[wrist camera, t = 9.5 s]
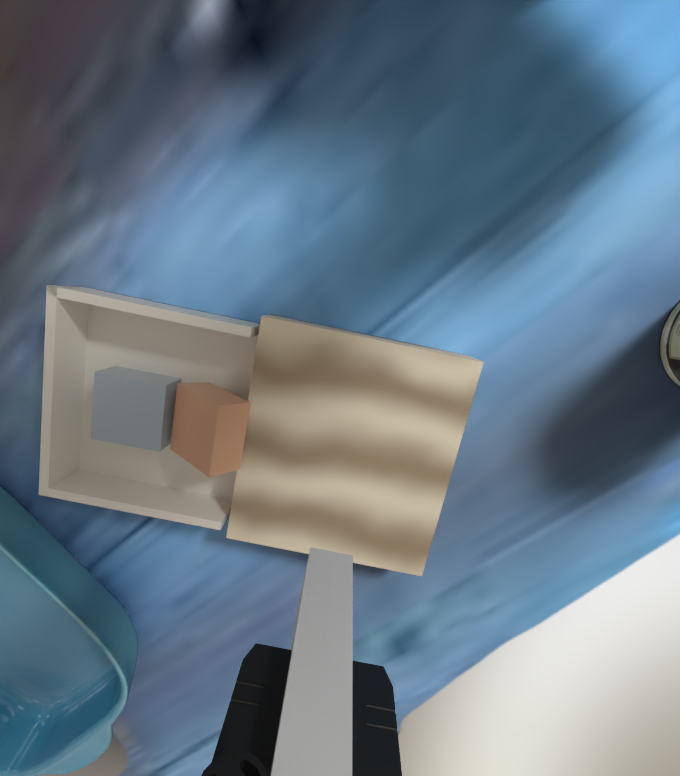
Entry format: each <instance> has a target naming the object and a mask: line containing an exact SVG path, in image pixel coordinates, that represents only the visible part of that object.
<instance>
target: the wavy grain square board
mask: <svg viewBox="0 0 680 776" xmlns="http://www.w3.org/2000/svg"><path fill="white" fill-rule="evenodd" d="M483 363H484V362H482V361H480V360H478V359H475V358H473V357H470V356H468V355H463V354H458V353H453V352H449V351H444V350H439V349H434V348H430V347H425V346H420V345H415V344H410V343H406V342H401V341H396V340H391V339H386V338H382V337H377V336H372V335H367V334H362V333H358V332H353V331H348V330H343V329H339V328H334V327H329V326H324V325H319V324H315V323H310V322H305V321H300V320H295V319H291V318H286V317H281V316H276V315H272V314H271V315H263V316H261V321H260V327H259V334H258V340H257V346H256V353H255V359H254V365H253V372H252V378H251V384H250V391H249V397H248V401H249V402H251V403H250V409H249V416H248V422H247V428H246V435H245V441H244V447H243V454H242V460H241V466H240V469H239V470H237V473H236V479H235V485H234V491H233V498H232V504H231V510H230V517H229V523H228V529H227V536H226V538H228V539H234V540H239V541H244V542H249V543H254V544H259V545H264V546H269V547H275V548H280V549H285V550H290V551H295V552H300V553H305V554H309V552H310V547H312V548H317V549H323V550H328V551H333V552H338V553H343V554H348V555H353V563H357V564H362V565H367V566H372V567H377V568H382V569H387V570H393V571H398V572H403V573H408V574H413V575H418V576H422V574H423V571H424V567H425V564H426V560H427V557H428V553H429V550H430V546H431V543H432V539H433V536H434V532H435V529H436V525H437V522H438V519H439V515H440V512H441V508H442V505H443V501H444V498H445V494H446V491H447V487H448V484H449V480H450V477H451V474H452V470H453V467H454V463H455V460H456V456H457V453H458V449H459V446H460V442H461V439H462V435H463V432H464V429H465V425H466V422H467V418H468V415H469V411H470V408H471V404H472V401H473V397H474V394H475V390H476V387H477V384H478V380H479V377H480V373H481V370H482V366H483Z"/></svg>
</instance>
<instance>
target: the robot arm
mask: <svg viewBox="0 0 680 776" xmlns="http://www.w3.org/2000/svg"><path fill="white" fill-rule="evenodd" d="M202 776H402V772H401V762H400V752H399V743H398V733H397V723H396V713H395V703H394V693H393V686H392V684H391V682H390V680H389V677H388V675H387V673H386V671H385V669H384V667H383V666H377V665H372V664H367V663H362V662H357V661H353V555H348V554H343V553H338V552H333V551H328V550H323V549H317V548H312V547H310V552H309V557H308V561H307V566H306V571H305V576H304V581H303V586H302V591H301V595H300V600H299V605H298V610H297V615H296V621H295V627H294V632H293V638H292V643H291V649H290V650H288V649H282V648H277V647H272V646H267V645H262V644H255V645H254V647H253V648H252V649H251V650H250V652H249V653H248V654H247V655H246V656H245V658H244V659H243V662H242V665H241V668H240V671H239V675H238V678H237V682H236V684H235V688H234V691H233V694H232V698H231V702H230V704H229V707H228V711H227V714H226V717H225V721H224V724H223V727H222V730H221V734H220V737H219V740H218V743H217V747H216V750H215V753H214V757H213V760H212V763H211V764H210V765H209V766H208V767H207V768H206V769H205V770H204V771H203V774H202Z"/></svg>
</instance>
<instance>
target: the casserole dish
mask: <svg viewBox="0 0 680 776" xmlns="http://www.w3.org/2000/svg"><path fill="white" fill-rule="evenodd" d="M137 655H138V638H137V633H136V630H135V627H134V625H133V623H132V621H131V619H130V617H129V616H128V614H127V613H126V611H125V610H124V608H123V607H122V606H121V605H120V603H119V602H118V601H117V600H116V599H115V597H114V596H113V595H112V594H111V593H110V592H109V591H108V590H107V589H106V588H105V587H104V586H103V585H102V584H101V583H100V582H99V581H98V580H97V579H96V578H95V577H94V576H93V575H92V574H91V573H90V572H89V571H88V570H87V569H86V568H85V567H84V566H83V565H82V564H80V563H79V562H78V561H77V560H76V559H75V558H74V557H73V556H72V555H71V554H70V553H69V552H68V551H67V550H66V549H65V548H64V547H63V546H62V545H61V544H60V543H59V542H58V541H57V540H56V539H55V538H54V537H53V536H52V535H51V534H50V533H49V532H48V531H47V530H46V529H45V528H44V527H43V526H42V525H41V524H40V523H39V522H38V521H37V520H36V519H35V518H34V517H33V516H32V515H31V514H30V513H29V512H28V511H27V510H26V509H25V508H24V507H23V506H22V505H21V504H20V503H19V502H17V501H16V500H15V499H14V498H13V497H12V496H11V495H10V494H9V493H8V492H6V491H5V490H4V489H3V488H2V487H1V486H0V776H37V775H45V774H63V773H70V772H73V771H76V770H79V769H81V768H83V767H85V766H87V765H89V764H90V763H92V762H93V761H94V760H96V759H97V758H98V757H99V756H100V755H102V754H103V753H104V752H105V751H106V749H107V748H108V747H109V745H110V743H111V741H112V737H113V724H112V723H113V722H114V721H115V719H116V718H117V717H118V716H119V714H120V713H121V712H122V710H123V708H124V706H125V704H126V702H127V699H128V695H129V691H130V687H131V683H132V679H133V675H134V670H135V666H136V661H137Z"/></svg>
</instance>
